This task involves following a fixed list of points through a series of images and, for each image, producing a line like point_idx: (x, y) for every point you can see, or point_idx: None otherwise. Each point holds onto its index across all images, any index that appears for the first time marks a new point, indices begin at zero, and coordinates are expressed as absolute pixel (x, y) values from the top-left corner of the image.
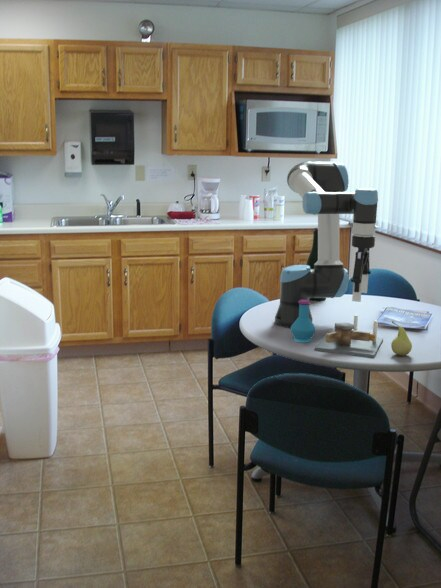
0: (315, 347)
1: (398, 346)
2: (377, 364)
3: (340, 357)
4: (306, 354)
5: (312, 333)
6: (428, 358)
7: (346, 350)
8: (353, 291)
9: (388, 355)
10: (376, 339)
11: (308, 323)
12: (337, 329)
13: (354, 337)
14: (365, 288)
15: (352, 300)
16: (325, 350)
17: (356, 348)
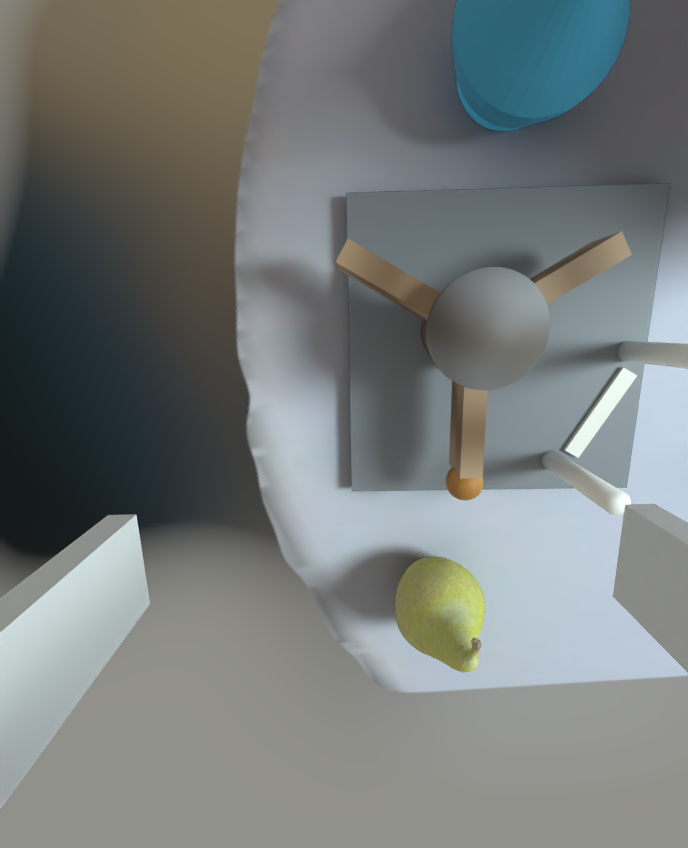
0: (346, 198)
1: (399, 601)
2: (272, 512)
3: (291, 350)
4: (259, 177)
5: (495, 119)
6: (431, 670)
7: (363, 363)
8: (8, 604)
9: (408, 534)
10: (595, 462)
11: (520, 43)
12: (553, 267)
13: (455, 390)
14: (659, 619)
15: (104, 521)
16: None
17: (414, 401)
